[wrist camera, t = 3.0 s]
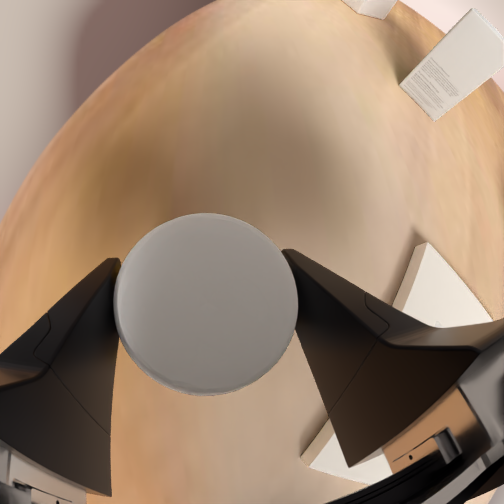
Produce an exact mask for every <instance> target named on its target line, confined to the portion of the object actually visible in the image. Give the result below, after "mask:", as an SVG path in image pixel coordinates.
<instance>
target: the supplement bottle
mask: <svg viewBox="0 0 504 504" xmlns="http://www.w3.org/2000/svg"><path fill="white" fill-rule="evenodd" d="M113 309H114V318H115V324H116V328H117V331H118V334H119V337H120V339H121V342H122V344H123V346H124V347H125V349H126V351H127V353H128V354H129V356H130V357H131V358H132V360H133V361H134V362H135V363H136V365H137V366H138V367H139V368H140V369H141V370H142V371H143V372H144V373H146V374H147V375H148V376H149V377H151V378H152V379H153V380H155V381H156V382H158V383H160V384H161V385H163V386H165V387H167V388H169V389H172V390H175V391H178V392H181V393H184V394H189V395H197V396H214V395H221V394H226V393H230V392H234V391H236V390H239V389H241V388H243V387H246V386H248V385H250V384H251V383H253V382H255V381H256V380H258V379H259V378H260V377H262V376H263V375H264V374H266V373H267V372H268V371H269V370H270V369H271V368H272V367H273V366H274V365H275V364H276V363H277V362H278V361H279V359H280V358H281V356H282V355H283V354H284V352H285V351H286V349H287V347H288V345H289V343H290V341H291V338H292V336H293V333H294V330H295V326H296V321H297V314H298V296H297V289H296V284H295V280H294V277H293V274H292V271H291V269H290V267H289V265H288V262H287V261H286V259H285V257H284V256H283V254H282V253H281V251H280V250H279V248H278V247H277V246H276V245H275V244H274V243H273V242H272V241H271V240H270V239H269V238H268V237H267V236H266V235H265V234H263V233H262V232H261V231H260V230H258V229H257V228H255V227H253V226H252V225H250V224H248V223H246V222H244V221H242V220H239V219H237V218H234V217H230V216H227V215H222V214H215V213H197V214H190V215H185V216H181V217H178V218H175V219H173V220H170V221H168V222H165V223H163V224H161V225H159V226H157V227H156V228H154V229H153V230H151V231H150V232H149V233H147V234H146V235H145V236H144V237H143V238H141V239H140V240H139V241H138V242H137V244H136V245H135V246H134V247H133V248H132V249H131V251H130V252H129V254H128V255H127V257H126V258H125V260H124V262H123V264H122V266H121V268H120V271H119V273H118V276H117V279H116V283H115V288H114V297H113Z"/></svg>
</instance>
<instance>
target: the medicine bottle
mask: <svg viewBox="0 0 504 504" xmlns="http://www.w3.org/2000/svg"><path fill="white" fill-rule="evenodd" d="M342 1H343V2H344V3H345V4H347V5H348V6H349V7H350V8H351V9H353V10H354V11H355V12H356V13H358V14H362V15H366V16H370V17H374V18H377V19H381V20H384V19H385V17H386V16H387V14H388V13H389V12H390V10H391V9H392V7H393V6H394V5H395V3H396V2H397V0H342Z"/></svg>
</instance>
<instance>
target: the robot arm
mask: <svg viewBox="0 0 504 504" xmlns="http://www.w3.org/2000/svg"><path fill="white" fill-rule="evenodd" d="M281 253H282V254H283V256H284V257H285V259H286V261H287V262H288V265H289V267H290V269H291V271H292V274H293V277H294V280H295V284H296V289H297V296H298V314H297V321H296V326H295V330H296V333H297V335H298V338H299V340H300V343H301V346H302V348H303V351H304V353H305V356H306V358H307V361H308V364H309V366H310V369H311V371H312V374H313V376H314V379H315V382H316V384H317V387H318V389H319V392H320V395H321V397H322V400H323V402H324V405H325V408H326V410H327V413H328V416H329V418H330V421H331V424H332V426H333V429H334V432H335V434H336V437H337V440H338V442H339V445H340V448H341V450H342V453H343V456H344V458H345V461H346V464H347V466H348V468H351V467H354V466H356V465H359V464H361V463H364V462H366V461H368V460H371V459H373V458H375V457H377V456H379V455H382V454H384V455H385V458H386V460H387V462H388V464H389V466H390V469H391V471H392V473H393V474H392V475H390V476H388V477H386V478H384V479H382V480H380V481H378V482H376V483H374V484H372V485H370V486H368V487H365V488H363V489H361V490H358V491H356V492H354V493H351V494H349V495H346V496H344V497H341V498H338V499H335V500H333V501H330V502H327V503H324V504H464V503H465V502H466V501H468V500H470V499H473V498H475V497H477V496H480V495H482V494H484V493H486V492H489V491H491V490H493V489H495V488H497V487H499V486H501V485H503V484H504V318H502V319H500V320H497V321H492V322H487V323H480V324H473V325H465V326H457V327H448V328H437V327H433V326H429V325H427V324H425V323H423V322H421V321H419V320H417V319H415V318H413V317H411V316H409V315H407V314H405V313H403V312H401V311H400V310H398V309H396V308H394V307H392V306H390V305H388V304H386V303H384V302H383V301H381V300H379V299H377V298H376V297H374V296H372V295H371V294H369V293H367V292H365V291H364V290H362V289H361V288H359V287H357V286H356V285H354V284H352V283H351V282H349V281H347V280H346V279H344V278H342V277H340V276H339V275H337V274H335V273H334V272H332V271H330V270H328V269H327V268H325V267H323V266H322V265H320V264H318V263H316V262H315V261H313V260H311V259H310V258H308V257H306V256H304V255H303V254H301V253H299V252H297V251H296V250H294V249H283V250H282V251H281ZM120 268H121V262H120V259H119V258H107V259H106V260H105V261H104V262H102V263H101V264H100V265H99V266H98V267H96V268H95V269H94V270H93V271H92V272H90V273H89V274H88V275H87V276H86V277H85V278H84V279H82V280H81V281H80V282H79V283H78V284H77V285H76V286H74V287H73V288H72V289H71V290H70V291H69V292H68V293H67V294H65V295H64V296H63V297H62V298H61V299H60V300H59V301H58V302H57V303H56V304H55V305H54V306H52V307H51V308H50V309H49V310H48V313H45V314H44V315H43V316H42V317H41V318H40V319H39V320H38V321H37V322H36V323H35V324H34V325H32V326H31V327H30V328H29V329H28V330H27V331H26V332H25V333H24V334H22V335H21V336H20V337H19V338H18V339H17V340H16V341H14V342H13V343H12V344H11V345H10V346H9V347H8V348H7V349H5V350H4V351H3V352H2V353H1V354H0V504H87V496H86V493H89V494H95V495H101V496H107V497H112V489H111V462H110V442H111V437H110V435H111V412H112V397H113V385H114V375H115V366H116V358H117V350H118V343H119V334H118V331H117V328H116V324H115V318H114V309H113V297H114V288H115V283H116V279H117V276H118V273H119V271H120Z"/></svg>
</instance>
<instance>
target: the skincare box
mask: <svg viewBox="0 0 504 504" xmlns="http://www.w3.org/2000/svg"><path fill="white" fill-rule="evenodd" d="M503 67H504V37H503V36H502V35H501V34H500V33H499V32H498V31H497V30H496V28H495V27H494V26H493V25H492V24H491V23H490V22H489V21H488V20H487V19H486V18H485V17H484V16H483V15H482V14H481V13H479V11H477V10H476V9H473V8H472V9H470V10H469V12H467V13H466V14H465V15H464V16H463V17H462V18H461V19H460V21H459V22H458V23H456V25H455V26H454V27H453V28H452V29H451V30H450V31H449V32H448V33H447V34H446V35H445V36H444V37H443V38H442V39H441V40H440V41H439V42H438V43H437V45H436V46H435V47H434V48H433V49H432V50H431V51H430V52H429V53H428V54H427V55H426V56H425V57H424V58H423V60H422V61H421V62H420V63H419V64H418V65H417V66H416V67H415V68H414V69H413V70H412V71H411V72H410V73H409V74H408V75H407V77H406V78H405V79H404V80H403V81H402V82H401V83H400V84H399V86H400V87H401V88H402V89H403V90H404V91H405V92H406V93H407V94H408V95H409V96H410V97H411V98H412V99H413V100H414V101H415V102H416V103H417V104H418V105H419V106H420V107H421V108H422V109H423V110H424V111H425V112H426V114H427V115H428V116H429V117H430V118H431V119H432V120H433V121H434V122H435V121H436V120H437V119H439V118H440V117H441V116H442V115H444V114H445V113H446V112H447V111H449V110H450V109H451V108H452V107H454V106H455V105H456V104H457V103H459V102H460V101H461V100H463V99H464V98H465V97H466V96H468V95H469V94H470V93H472V92H473V91H474V90H475V89H477V88H478V87H479V86H480V85H482V84H483V83H484V82H485V81H487V80H488V79H489V78H490V77H492V76H493V75H494V74H495V73H496V72H498V71H499V70H500V69H502V68H503Z"/></svg>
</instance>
